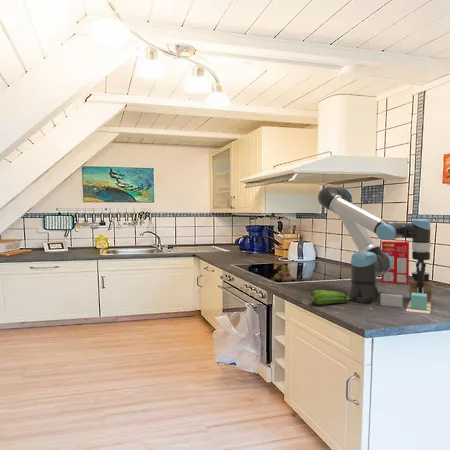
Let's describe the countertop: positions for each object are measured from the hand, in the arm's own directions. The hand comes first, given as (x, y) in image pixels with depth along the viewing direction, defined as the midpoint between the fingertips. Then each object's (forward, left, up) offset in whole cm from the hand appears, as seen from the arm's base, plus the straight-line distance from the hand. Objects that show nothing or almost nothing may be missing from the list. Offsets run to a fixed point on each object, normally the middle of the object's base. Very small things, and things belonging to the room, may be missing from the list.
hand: (420, 299), depth 173 cm
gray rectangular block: (-23, -14, -2) cm, 27 cm away
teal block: (-8, -12, 0) cm, 15 cm away
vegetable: (-43, +3, -2) cm, 43 cm away
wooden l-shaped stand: (-6, -9, -2) cm, 11 cm away
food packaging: (+12, +46, -2) cm, 47 cm away
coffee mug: (+13, +22, -2) cm, 25 cm away
